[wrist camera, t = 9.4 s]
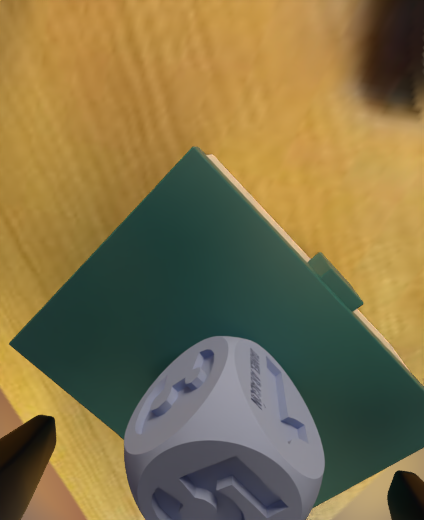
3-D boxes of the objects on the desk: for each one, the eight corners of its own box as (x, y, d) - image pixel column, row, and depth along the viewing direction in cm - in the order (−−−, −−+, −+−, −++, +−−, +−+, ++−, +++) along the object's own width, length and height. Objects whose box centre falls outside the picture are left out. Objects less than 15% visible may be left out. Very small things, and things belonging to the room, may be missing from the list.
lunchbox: (405, 339, 16) (473, 421, 11) (242, 446, 19) (241, 548, 14) (219, 137, 14) (204, 133, 9) (70, 293, 17) (1, 351, 12)
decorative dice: (311, 397, 11) (344, 523, 8) (221, 451, 12) (210, 583, 9) (234, 313, 11) (227, 405, 7) (146, 378, 12) (98, 487, 8)
